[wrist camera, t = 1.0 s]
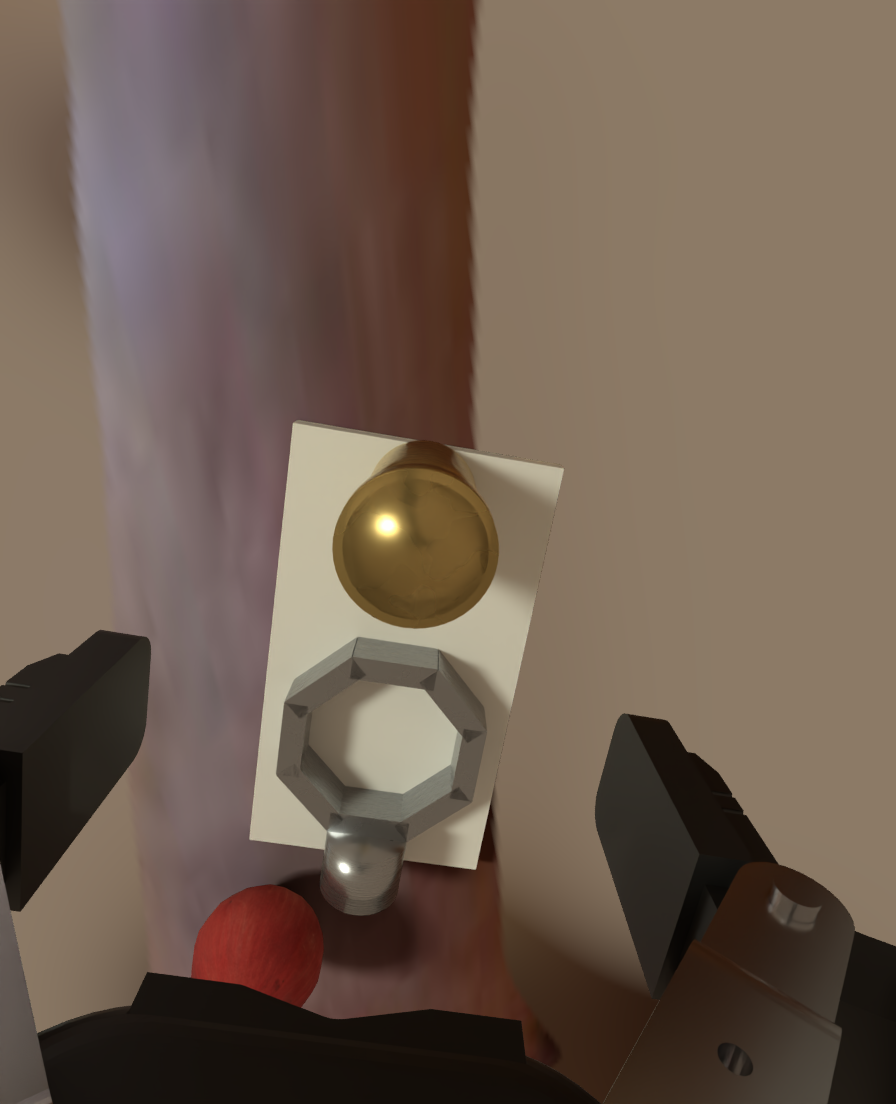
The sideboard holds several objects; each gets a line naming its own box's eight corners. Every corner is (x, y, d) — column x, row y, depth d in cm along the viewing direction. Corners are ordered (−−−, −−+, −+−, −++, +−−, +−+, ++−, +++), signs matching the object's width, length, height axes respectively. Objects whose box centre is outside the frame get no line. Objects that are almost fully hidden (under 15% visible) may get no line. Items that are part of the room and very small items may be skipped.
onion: (345, 930, 37) (320, 1088, 29) (237, 947, 37) (184, 1107, 29) (319, 838, 35) (285, 980, 27) (206, 856, 35) (141, 1001, 27)
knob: (370, 423, 28) (343, 456, 20) (493, 444, 28) (513, 484, 21) (353, 542, 29) (323, 615, 22) (471, 561, 30) (482, 639, 22)
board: (298, 419, 29) (293, 422, 28) (560, 464, 29) (564, 468, 28) (254, 825, 35) (249, 839, 34) (474, 855, 35) (475, 869, 34)
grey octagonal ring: (299, 627, 30) (281, 665, 27) (494, 657, 31) (501, 697, 27) (274, 844, 34) (255, 902, 30) (451, 868, 34) (452, 927, 31)
